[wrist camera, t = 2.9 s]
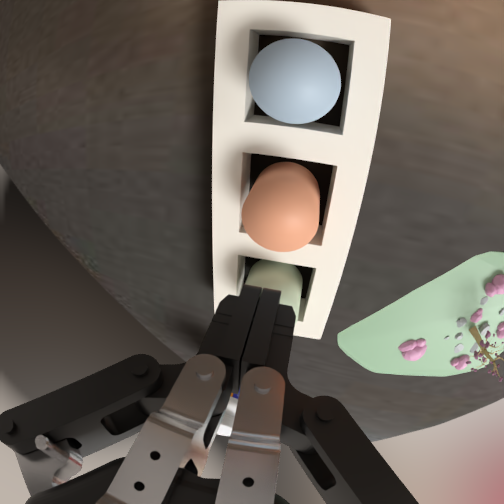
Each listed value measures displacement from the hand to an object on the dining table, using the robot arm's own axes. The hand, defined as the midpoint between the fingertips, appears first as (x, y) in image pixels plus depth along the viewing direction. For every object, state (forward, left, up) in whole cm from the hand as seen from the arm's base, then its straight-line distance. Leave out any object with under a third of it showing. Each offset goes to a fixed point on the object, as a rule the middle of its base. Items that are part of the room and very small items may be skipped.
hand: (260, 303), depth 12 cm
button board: (0, 0, -13) cm, 13 cm away
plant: (+20, -13, -13) cm, 27 cm away
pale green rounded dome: (0, -8, -11) cm, 14 cm away
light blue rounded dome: (0, +8, -11) cm, 14 cm away
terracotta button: (0, 0, -11) cm, 11 cm away
